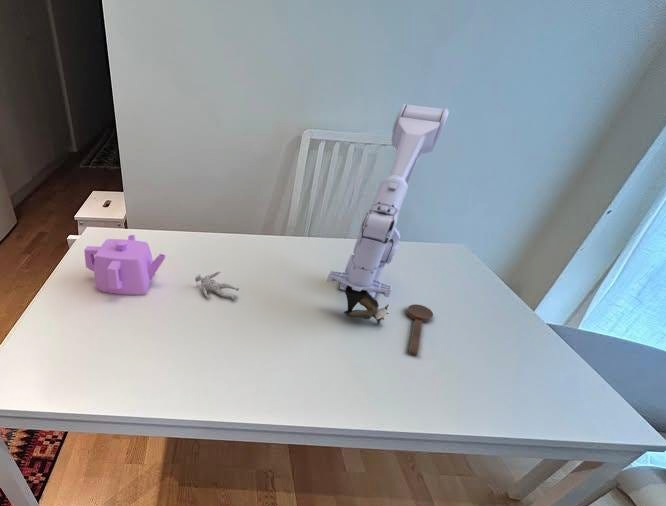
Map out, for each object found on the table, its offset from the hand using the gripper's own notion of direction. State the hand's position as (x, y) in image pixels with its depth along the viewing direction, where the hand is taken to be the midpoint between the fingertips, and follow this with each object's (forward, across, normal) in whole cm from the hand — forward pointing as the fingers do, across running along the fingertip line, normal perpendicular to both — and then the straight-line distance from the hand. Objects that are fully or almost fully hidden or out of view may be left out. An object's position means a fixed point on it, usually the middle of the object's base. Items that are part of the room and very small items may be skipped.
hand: (349, 311), depth 98 cm
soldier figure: (+2, -34, -7) cm, 35 cm away
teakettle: (+2, -58, -14) cm, 60 cm away
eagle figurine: (+1, +4, 0) cm, 4 cm away
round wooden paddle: (+1, +16, +2) cm, 17 cm away
